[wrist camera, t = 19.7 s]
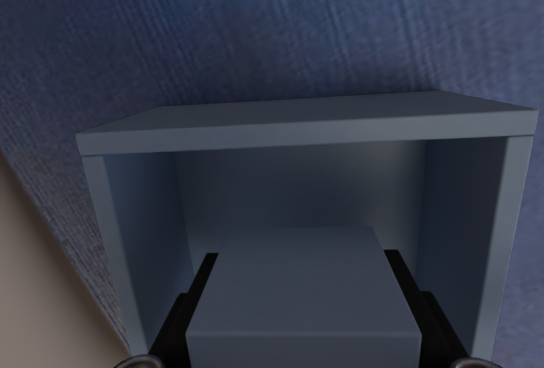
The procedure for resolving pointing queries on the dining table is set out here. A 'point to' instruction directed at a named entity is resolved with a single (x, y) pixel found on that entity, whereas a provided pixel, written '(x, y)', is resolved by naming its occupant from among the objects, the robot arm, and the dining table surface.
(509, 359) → the dining table surface
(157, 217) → the slate bin
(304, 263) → the slate block
